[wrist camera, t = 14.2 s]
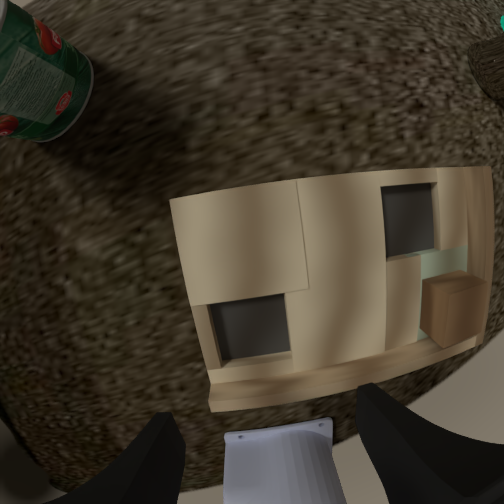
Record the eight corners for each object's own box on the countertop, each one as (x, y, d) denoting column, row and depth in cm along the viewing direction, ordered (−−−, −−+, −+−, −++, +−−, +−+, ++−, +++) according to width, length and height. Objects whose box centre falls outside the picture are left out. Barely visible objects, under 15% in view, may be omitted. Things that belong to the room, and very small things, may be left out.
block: (419, 327, 20) (443, 348, 16) (422, 279, 19) (449, 294, 15) (456, 315, 19) (481, 332, 16) (460, 269, 19) (488, 281, 15)
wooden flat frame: (215, 383, 21) (211, 412, 18) (174, 198, 18) (160, 200, 15) (460, 327, 21) (482, 342, 18) (463, 167, 18) (490, 166, 15)
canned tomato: (104, 42, 16) (27, -30, 5) (84, 138, 17) (-28, 110, 6) (30, 62, 15) (-51, 23, 4) (13, 147, 17) (-86, 139, 6)
